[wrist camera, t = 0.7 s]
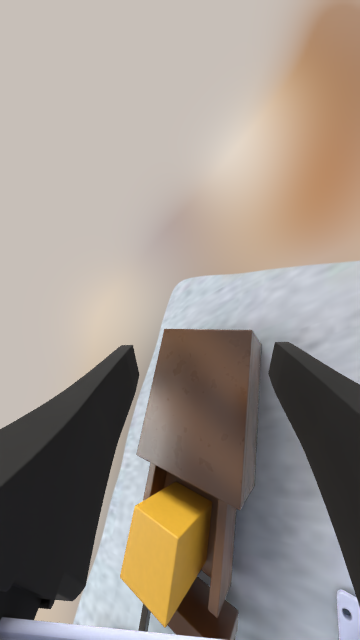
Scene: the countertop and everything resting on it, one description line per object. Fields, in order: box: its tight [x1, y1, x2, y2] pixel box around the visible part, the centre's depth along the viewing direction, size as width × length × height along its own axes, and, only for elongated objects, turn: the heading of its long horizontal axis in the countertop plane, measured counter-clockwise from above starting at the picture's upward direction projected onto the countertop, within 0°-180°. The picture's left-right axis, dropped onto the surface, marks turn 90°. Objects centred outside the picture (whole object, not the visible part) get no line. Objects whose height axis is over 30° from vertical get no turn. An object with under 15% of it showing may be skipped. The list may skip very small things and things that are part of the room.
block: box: [120, 482, 212, 627], centre depth 16 cm, size 4×4×6 cm
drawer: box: [139, 463, 238, 640], centre depth 18 cm, size 18×10×4 cm, turn 168°
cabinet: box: [137, 329, 261, 510], centre depth 22 cm, size 15×11×6 cm
